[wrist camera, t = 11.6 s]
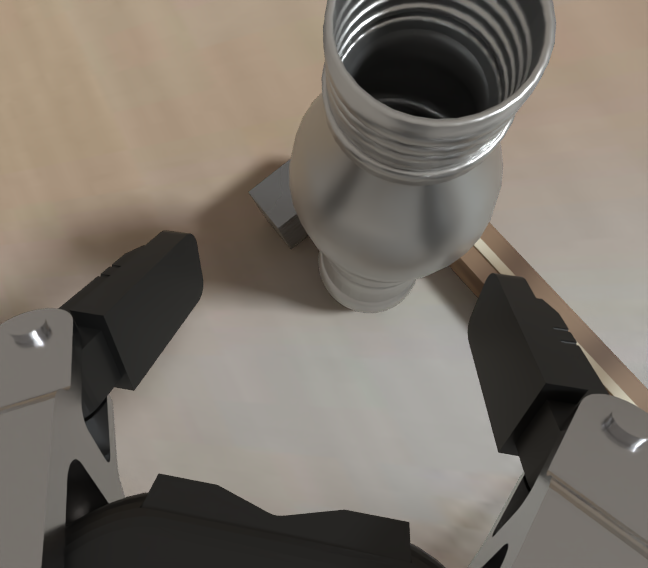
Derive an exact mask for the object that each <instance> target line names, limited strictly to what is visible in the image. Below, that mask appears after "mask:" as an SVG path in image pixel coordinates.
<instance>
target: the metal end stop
mask: <svg viewBox="0 0 648 568" xmlns="http://www.w3.org/2000/svg"><path fill="white" fill-rule="evenodd" d="M290 160H291V159H290ZM290 160H289V161H287V162H286V163H285V164H284V165H282V166H281V167H280V168H278V169H277V170H276V171H275V172H273V173H272V174H271V175H269V176H268V177H267V178H266V179H264V180H263V181H262V182H260V183H259V184H258V185H257V186H255V187H254V188H253V189H251V190H250V191H249V194H250V195H251V197H252V198H253V200H254V201H255V203H256V204H257V206H258V207H259V209H260V210H261V212H262V213H263V215H264V216H265V218H266V219H267V220H268V221H269V223H270V224H271V225H272V226H273V228H274V229H275V230H276V231H277V233H278V234H279V235H280V236H281V237H282V239H283V240H284V241H285V242H286V244H287V245H288V246H289V247H290V248H291V249H292V248H293V247H294V246H296V245H297V244H298V243H299V242H301V241H302V240H303V239H304V238H306V237H307V236H308V234H307V232H306V231H305V229H304V227H303V226H302V224H301V222H300V220H299V217H298V215H297V213H296V211H295V208H294V206H293V201H292V196H291V192H290V187H289V166H290Z"/></svg>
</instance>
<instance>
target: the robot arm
mask: <svg viewBox="0 0 648 568" xmlns="http://www.w3.org/2000/svg"><path fill="white" fill-rule="evenodd" d="M202 291H203V276H202V270H201V265H200V259H199V253H198V247H197V242H196V239H195V237H194V236H193V235H192V234H189V233H181V232H174V231H162V232H160V233H159V234H158V235H157V236H156V237H155V238H153V239H152V240H151V241H150V242H149V243H148V244H146V245H143V246H141V247H139V248H137V249H135V250H132V251H130V252H128V253H126V254H124V255H123V256H122V257H121V258H120V259H118V260H117V261H116V262H115V263H113V264H112V267H109V268H107V269H106V270H105V271H104V272H102V273H101V276H100V277H99V276H98V277H96V278H95V279H94V280H93V281H91V282H90V283H89V284H88V285H87V286H85V287H84V288H83V289H82V290H81V291H79V292H78V293H77V294H76V295H74V296H73V297H72V298H71V299H70V300H68V301H67V302H66V303H65V304H63V305H62V306H61V307H60V308H59V309H56V308H45V309H38V310H33V311H29V312H26V313H23V314H20V315H17V316H15V317H13V318H11V319H9V320H7V321H5V322H4V323H2V324H1V325H0V568H445V567H444V566H443V565H442V564H441V563H440V562H438V561H437V560H436V559H435V558H433V557H432V556H431V555H429V554H428V553H426V552H425V551H423V550H422V549H420V548H419V547H417V546H415V545H413V544H411V543H410V528H409V522H405V521H400V520H395V519H390V518H385V517H379V516H374V515H369V514H364V513H359V512H354V511H349V510H337V511H327V512H317V513H307V514H297V515H287V516H276V515H272V514H270V513H268V512H266V511H264V510H262V509H261V508H259V507H257V506H255V505H253V504H251V503H250V502H248V501H246V500H244V499H242V498H240V497H239V496H237V495H235V494H233V493H231V492H229V491H228V490H226V489H224V488H222V487H220V486H218V485H215V484H210V483H205V482H200V481H194V480H189V479H184V478H179V477H174V476H169V475H164V474H158V476H157V478H156V480H155V481H154V483H153V485H152V487H151V489H150V491H149V492H148V493H142V494H137V495H133V496H129V497H126V498H125V495H124V492H123V488H122V485H121V482H120V478H119V473H118V465H117V452H116V438H115V424H114V411H113V402H112V399H111V397H110V395H109V393H110V392H111V390H112V389H113V388H114V387H117V388H122V389H128V390H135V389H136V387H137V386H138V385H139V383H140V382H141V380H142V379H143V378H144V376H145V375H146V373H147V372H148V371H149V369H150V368H151V367H152V365H153V364H154V362H155V361H156V360H157V358H158V357H159V355H160V354H161V353H162V351H163V350H164V348H165V347H166V346H167V344H168V343H169V342H170V340H171V339H172V337H173V336H174V335H175V333H176V332H177V330H178V329H179V328H180V326H181V325H182V323H183V322H184V321H185V319H186V318H187V317H188V315H189V314H190V312H191V311H192V310H193V308H194V307H195V305H196V304H197V303H198V301H199V299H200V297H201V295H202ZM568 330H569V328H568V327H567V325H566V324H565V322H564V320H563V319H562V317H561V316H560V314H559V313H558V312H557V311H556V310H555V309H553V308H552V307H551V306H550V305H549V304H548V303H546V302H545V301H544V300H543V299H539V298H536V297H535V295H534V293H533V291H532V290H531V288H530V286H529V284H528V283H527V281H526V279H525V278H524V277H520V276H512V275H505V274H497V273H491V274H490V275H489V276H488V277H487V279H486V281H485V283H484V286H483V288H482V291H481V293H480V295H479V298H478V300H477V303H476V305H475V308H474V310H473V312H472V315H471V317H470V321H469V325H468V340H469V344H470V348H471V352H472V355H473V359H474V363H475V367H476V370H477V374H478V378H479V382H480V385H481V389H482V393H483V397H484V400H485V404H486V408H487V412H488V415H489V419H490V423H491V427H492V430H493V434H494V438H495V442H496V445H497V449H498V452H499V453H504V454H510V455H516V456H519V457H520V461H521V464H522V467H523V470H524V472H523V473H522V475H521V476H520V477H519V479H518V481H517V483H516V485H515V487H514V488H513V490H512V492H511V494H510V496H509V498H508V499H507V501H506V503H505V505H504V507H503V509H502V510H501V512H500V514H499V516H498V518H497V520H496V522H495V523H494V525H493V527H492V529H491V531H490V533H489V534H488V536H487V538H486V540H485V542H484V543H483V545H482V547H481V548H480V550H479V551H478V553H477V554H476V556H475V557H474V558H473V560H472V561H471V563H470V564H469V566H468V567H467V568H648V413H647V412H645V411H644V410H642V409H641V408H639V407H637V406H636V405H634V404H632V403H630V402H628V401H626V400H623V399H621V398H618V397H615V396H611V395H610V394H609V393H608V391H607V390H606V388H605V386H604V385H603V383H602V382H601V380H600V378H599V377H598V375H597V374H596V372H595V370H594V369H593V367H592V365H591V364H590V362H589V361H588V359H587V357H586V356H585V354H584V353H583V351H582V349H581V348H580V346H579V345H577V341H576V340H575V338H574V337H573V335H572V333H571V332H568Z"/></svg>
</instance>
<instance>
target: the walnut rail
mask: <svg viewBox="0 0 648 568" xmlns="http://www.w3.org/2000/svg"><path fill="white" fill-rule="evenodd" d="M449 266H450V267H451V268H452V270H453V271H454V272H455V273H456V274H457V275H458V276H459V277H460V278H461V280H462V281H463V282H464V283H465V284H466V285H467V286H468V287H469V288H470V290H471V291H472V292H473V293H474V294H475V295H476V296H477V297H478V298H479V295H480V293H481V291H482V288H483V286H484V283H485V281H486V279H487V277H488V276H489V275H490V274H491V273H497V274H505V275H512V276H520V277H524V278H525V279H526V281H527V283H528V284H529V286H530V288H531V290H532V291H533V293H534V295H535V297H536V298H539V299H543V300H544V301H545V302H546V303H548V304H549V305H550V306H551V307H552V308H553V309H555V310H556V311H557V312H558V313H559V314H560V316H561V317H562V319H563V320H564V322H565V324H566V325H567V327H568V328H569V330H568V332H571V333H572V335H573V337H574V338H575V340H576V341H577V345H579V346H580V348H581V349H582V351H583V353H584V354H585V356H586V357H587V359H588V361H589V362H590V364H591V365H592V367H593V369H594V370H595V372H596V374H597V375H598V377H599V378H600V380H601V382H602V383H603V385H604V386H605V388H606V390H607V391H608V393H609V394H610V395H611V396H615V397H618V398H621V399H623V400H626V401H628V402H630V403H632V404H634V405H636V406H637V407H639V408H641V409H642V410H644V411H645V412H647V413H648V389H647V388H646V387H645V386H644V385H643V384H642V383H641V382H640V381H639V380H638V379H637V377H636V376H635V375H634V374H633V373H632V372H631V371H630V370H629V369H628V368H627V367H626V366H625V365H624V364H623V363H622V362H621V361H620V360H619V358H618V357H617V356H616V355H615V354H614V353H613V352H612V351H611V350H610V349H609V348H608V347H607V346H606V345H605V344H604V343H603V342H602V341H601V340H600V338H599V337H598V336H597V335H596V334H595V333H594V332H593V331H592V330H591V329H590V328H589V327H588V326H587V325H586V324H585V323H584V322H583V321H582V319H581V318H580V317H579V316H578V315H577V314H576V313H575V312H574V311H573V310H572V309H571V308H570V307H569V306H568V305H567V304H566V303H565V302H564V300H563V299H562V298H561V297H560V296H559V295H558V294H557V293H556V292H555V291H554V290H553V289H552V288H551V287H550V286H549V285H548V284H547V283H546V282H545V280H544V279H543V278H542V277H541V276H540V275H539V274H538V273H537V272H536V271H535V270H534V269H533V268H532V267H531V266H530V265H529V264H528V263H527V261H526V260H525V259H524V258H523V257H522V256H521V255H520V254H519V253H518V252H517V251H516V250H515V249H514V248H513V247H512V246H511V245H510V244H509V243H508V241H507V240H506V239H505V238H504V237H503V236H502V235H501V234H500V233H499V232H498V231H497V230H496V229H495V228H494V227H493V226H492V225H491V224H490V222H489V223H488V225H487V227H486V229H485V230H484V232H483V234H482V236H481V237H480V239H479V240H478V241H477V242H476V243H475V244H474V245H473V246H472V247H471V249H470V250H469V251H468V252H467V253H466V254H464V255H463V256H462V257H460V258H459V259H458V260H456V261H455V262H453V263H452V264H451V265H449Z"/></svg>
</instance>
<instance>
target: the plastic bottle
mask: <svg viewBox="0 0 648 568" xmlns="http://www.w3.org/2000/svg"><path fill="white" fill-rule="evenodd" d="M555 31H556V19H555V12H554V5H553V1H552V0H328V1H327V6H326V11H325V20H324V25H323V43H324V57H325V62H324V68H323V73H322V93H321V94H320V95H319V96H318V97H317V98H316V99H315V100H314V101H313V102H312V104H311V105H310V107H309V109H308V110H307V112H306V113H305V115H304V116H303V118H302V121H301V123H300V126H299V128H298V131H297V133H296V137H295V141H294V145H293V150H292V155H291V160H290V166H289V187H290V192H291V196H292V201H293V206H294V208H295V211H296V213H297V215H298V217H299V220H300V222H301V224H302V226H303V227H304V229H305V231H306V232H307V234H308V235H309V237H310V238H311V240H312V241H313V242H314V244H315V245H316V247H317V248H318V249H319V250H320V251H319V257H318V264H319V272H320V276H321V279H322V281H323V283H324V286H325V287H326V289H327V290H328V292H329V293H330V295H331V296H332V297H333V298H334V299H335V300H336V301H337V302H339V303H340V304H342V305H343V306H345V307H347V308H349V309H352V310H354V311H358V312H363V313H377V312H382V311H386V310H388V309H390V308H393V307H395V306H396V305H397V304H399V303H400V302H402V301H403V300H404V299H405V297H406V296H407V295H408V294H409V293H410V291H411V289H412V288H413V286H414V284H415V281H416V279H419V278H423V277H425V276H427V275H430V274H432V273H434V272H436V271H439V270H441V269H443V268H445V267H447V266H449V265H451V264H452V263H453V262H455V261H456V260H458V259H459V258H460V257H462V256H463V255H464V254H466V253H467V252H468V251H469V250H470V249H471V247H472V246H473V245H474V244H475V243H476V242H477V241H478V240H479V239H480V237H481V236H482V234H483V232H484V230H485V229H486V227H487V225H488V223H489V222H490V220H491V217H492V214H493V211H494V207H495V204H496V201H497V198H498V195H499V191H500V188H501V184H502V174H503V158H502V149H501V143H500V141H501V140H502V139H503V138H504V136H505V134H506V132H507V131H508V129H509V127H510V126H511V124H512V122H513V119H514V116H515V114H516V112H517V111H518V110H519V109H520V107H521V106H522V105H523V103H524V102H525V101H526V100H527V99H528V97H529V96H530V95H531V94H532V92H533V91H534V89H535V87H536V85H537V84H538V82H539V80H540V79H541V77H542V75H543V72H544V70H545V68H546V67H547V65H548V63H549V59H550V56H551V53H552V50H553V47H554V44H555Z"/></svg>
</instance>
